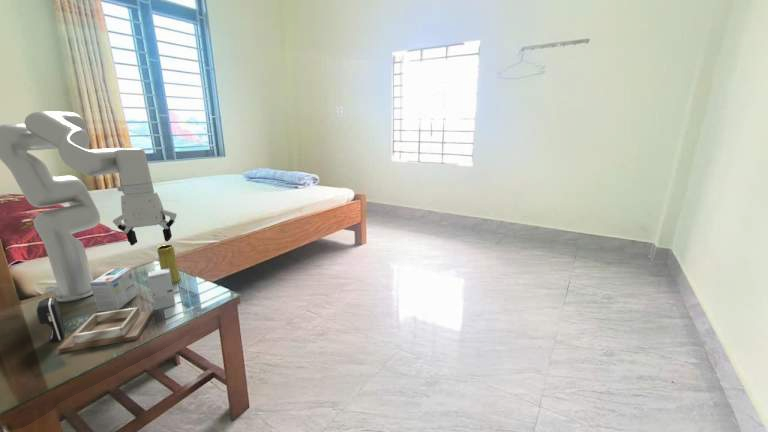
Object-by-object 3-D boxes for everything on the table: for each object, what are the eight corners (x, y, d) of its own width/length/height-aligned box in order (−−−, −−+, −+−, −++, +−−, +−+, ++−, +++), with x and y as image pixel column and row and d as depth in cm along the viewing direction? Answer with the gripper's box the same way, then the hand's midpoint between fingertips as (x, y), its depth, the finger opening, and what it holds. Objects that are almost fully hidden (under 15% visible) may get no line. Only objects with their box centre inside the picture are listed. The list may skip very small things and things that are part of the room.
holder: (59, 352, 90) (55, 340, 89) (86, 324, 102) (83, 313, 101) (137, 339, 95) (134, 327, 94) (153, 313, 108) (151, 303, 107)
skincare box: (154, 310, 109) (146, 277, 106) (154, 305, 113) (147, 272, 110) (176, 305, 113) (169, 272, 109) (175, 299, 116) (169, 267, 113)
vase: (184, 279, 131) (177, 245, 127) (167, 286, 126) (160, 250, 122) (176, 276, 134) (169, 242, 131) (159, 282, 129) (152, 247, 126)
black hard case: (48, 334, 98) (37, 299, 95) (66, 329, 100) (55, 294, 97) (45, 345, 93) (33, 309, 90) (64, 340, 95) (53, 304, 92)
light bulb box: (118, 296, 119) (111, 268, 117) (138, 294, 120) (131, 267, 117) (96, 312, 109) (88, 282, 106) (118, 310, 110) (110, 280, 107)
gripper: (98, 194, 97) (114, 249, 101) (165, 188, 101) (177, 242, 105) (112, 189, 104) (125, 241, 108) (174, 185, 108) (184, 235, 112)
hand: (151, 242), depth 107 cm, fingers open, 9 cm apart
